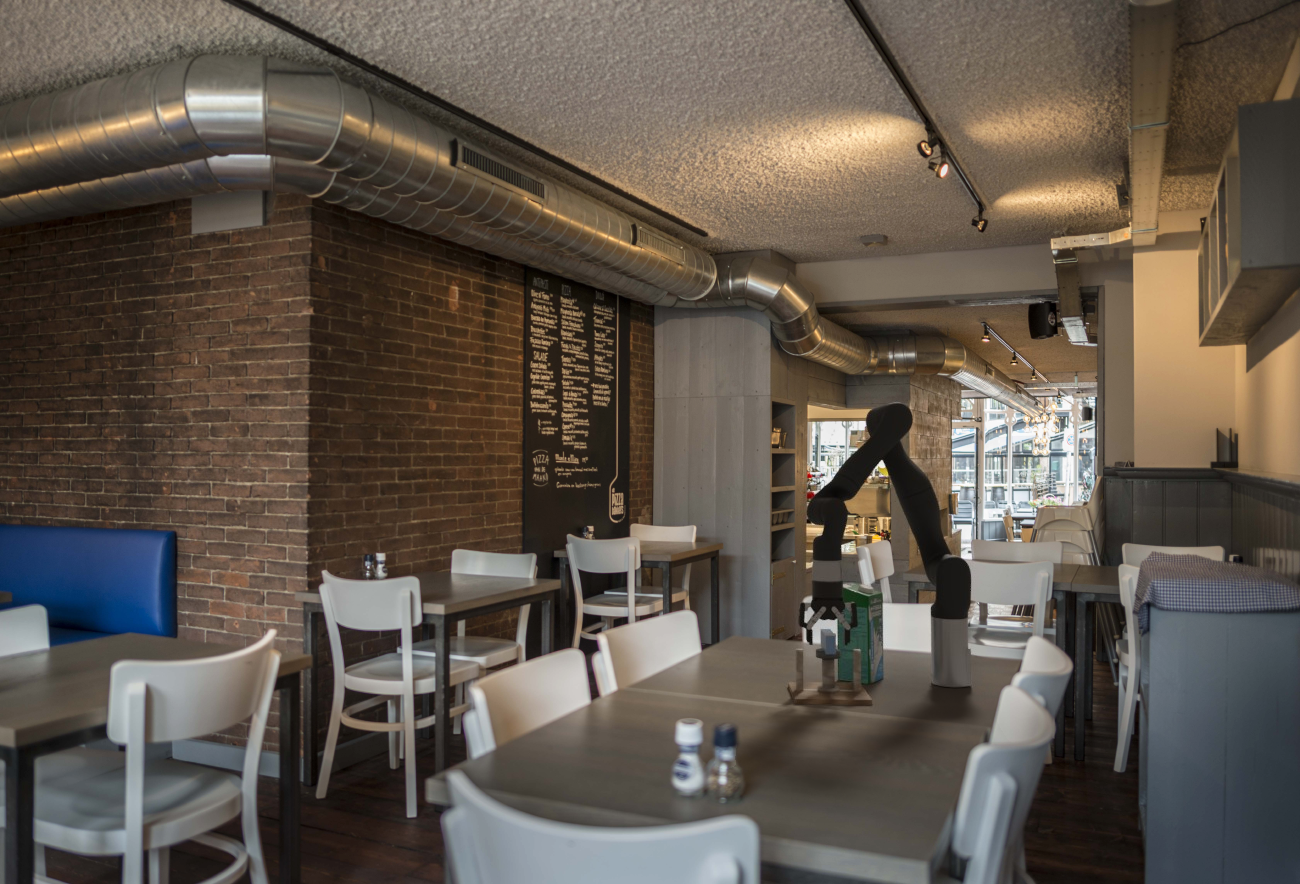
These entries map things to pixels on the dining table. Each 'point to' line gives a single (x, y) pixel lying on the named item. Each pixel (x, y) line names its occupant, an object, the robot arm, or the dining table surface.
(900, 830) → the dining table surface
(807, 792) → the dining table surface
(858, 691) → the base plate
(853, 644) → the milk carton
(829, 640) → the blue long block
